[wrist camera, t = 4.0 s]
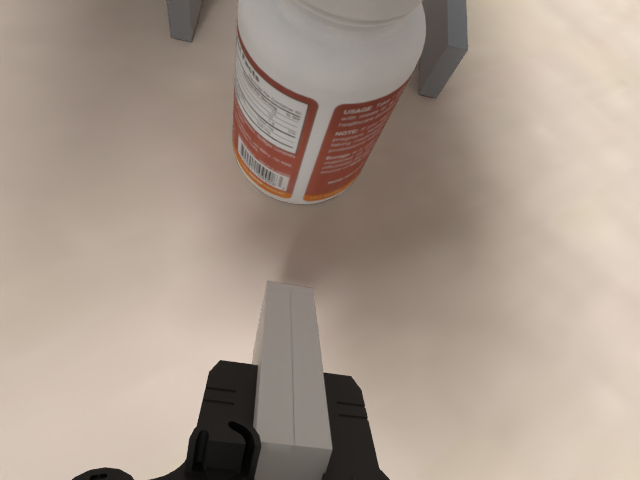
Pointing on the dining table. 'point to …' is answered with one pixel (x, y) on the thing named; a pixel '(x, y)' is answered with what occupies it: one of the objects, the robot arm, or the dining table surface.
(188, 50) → the dining table surface
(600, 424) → the dining table surface
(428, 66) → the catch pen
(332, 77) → the pill bottle
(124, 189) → the dining table surface
